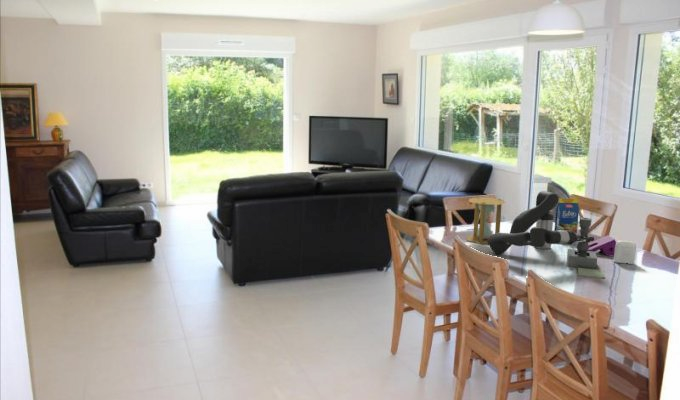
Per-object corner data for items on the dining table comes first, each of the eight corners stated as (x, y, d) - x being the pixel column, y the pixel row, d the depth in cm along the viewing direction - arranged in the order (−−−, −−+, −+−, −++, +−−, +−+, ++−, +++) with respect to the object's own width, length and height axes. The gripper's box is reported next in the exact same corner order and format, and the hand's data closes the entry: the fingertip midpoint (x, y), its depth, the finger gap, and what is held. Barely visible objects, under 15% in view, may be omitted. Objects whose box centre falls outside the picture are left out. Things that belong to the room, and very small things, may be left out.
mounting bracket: (589, 265, 332) (620, 252, 330) (584, 252, 331) (614, 239, 329) (583, 260, 341) (612, 248, 339) (578, 247, 340) (607, 235, 338)
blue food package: (576, 238, 367) (580, 199, 362) (557, 238, 367) (560, 199, 362) (572, 236, 373) (576, 197, 368) (553, 236, 373) (557, 197, 368)
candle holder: (572, 262, 315) (577, 217, 310) (583, 262, 315) (588, 217, 310) (578, 266, 309) (582, 220, 304) (589, 266, 309) (594, 220, 304)
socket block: (567, 266, 308) (568, 255, 307) (566, 259, 321) (567, 249, 320) (596, 269, 303) (597, 258, 302) (594, 262, 316) (595, 251, 315)
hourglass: (470, 233, 375) (473, 195, 371) (506, 238, 366) (509, 198, 361) (461, 241, 354) (464, 201, 350) (499, 246, 345) (502, 205, 340)
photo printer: (633, 262, 317) (636, 240, 315) (634, 264, 313) (637, 242, 311) (612, 260, 320) (615, 238, 318) (613, 262, 316) (616, 240, 314)
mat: (578, 275, 293) (578, 274, 293) (577, 268, 304) (577, 267, 304) (604, 278, 289) (604, 277, 289) (602, 271, 300) (602, 270, 300)
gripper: (553, 241, 312) (579, 241, 317) (572, 247, 298) (598, 248, 304) (555, 227, 311) (581, 228, 316) (574, 233, 297) (600, 233, 303)
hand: (589, 237), depth 310 cm, fingers open, 5 cm apart
